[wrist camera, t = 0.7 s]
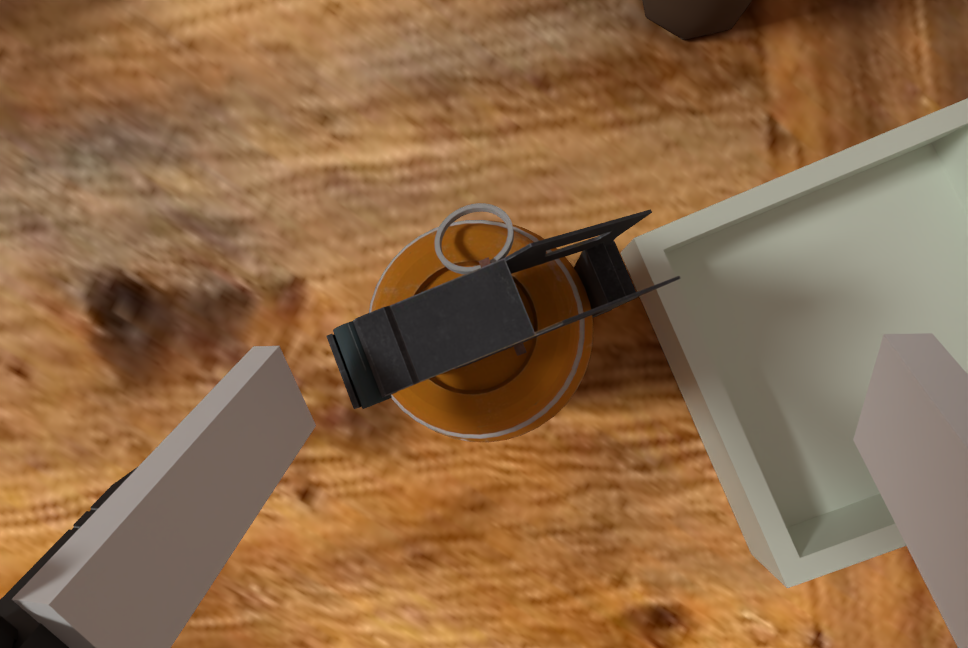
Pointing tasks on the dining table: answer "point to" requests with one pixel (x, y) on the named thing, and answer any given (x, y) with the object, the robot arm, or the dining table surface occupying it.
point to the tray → (811, 329)
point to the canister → (484, 324)
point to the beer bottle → (695, 15)
